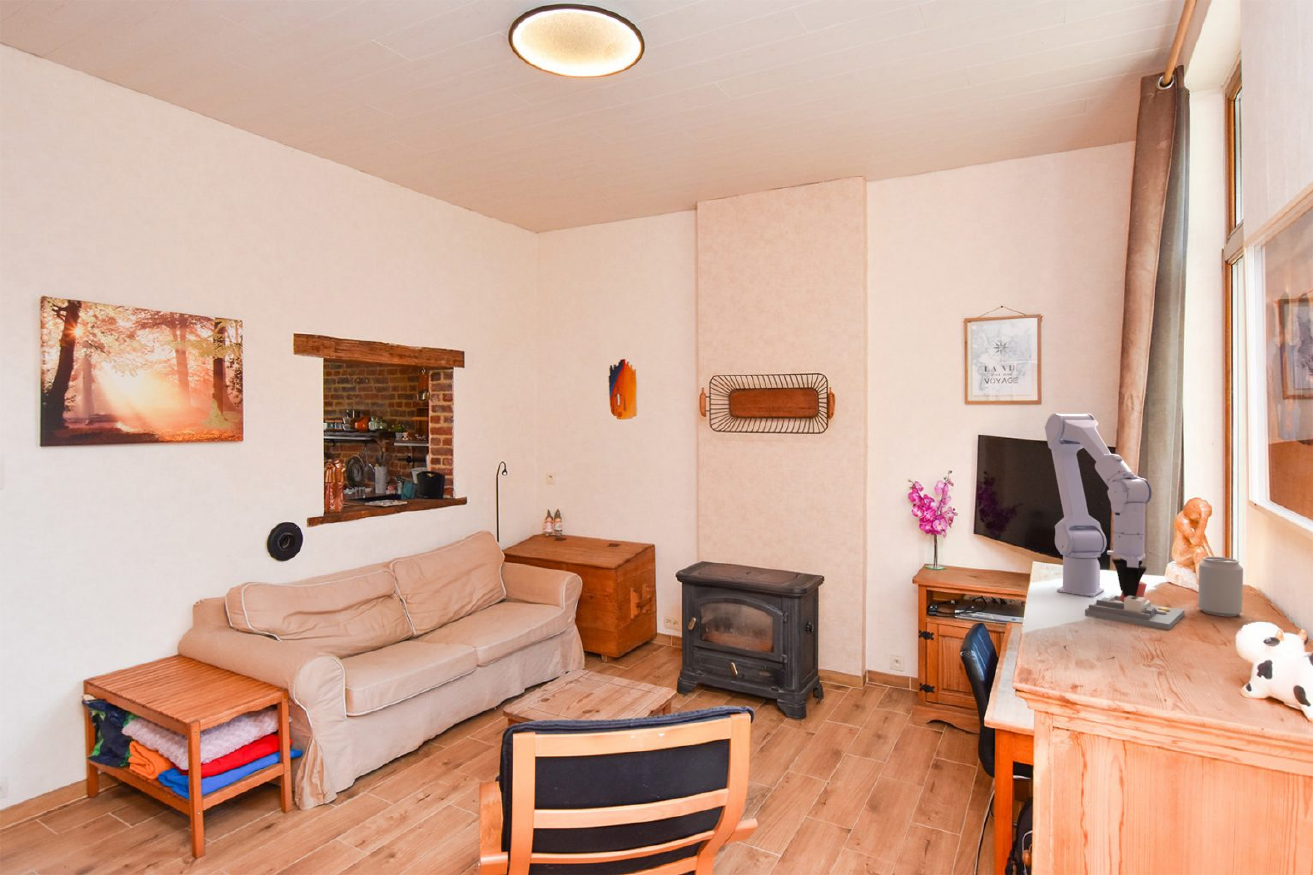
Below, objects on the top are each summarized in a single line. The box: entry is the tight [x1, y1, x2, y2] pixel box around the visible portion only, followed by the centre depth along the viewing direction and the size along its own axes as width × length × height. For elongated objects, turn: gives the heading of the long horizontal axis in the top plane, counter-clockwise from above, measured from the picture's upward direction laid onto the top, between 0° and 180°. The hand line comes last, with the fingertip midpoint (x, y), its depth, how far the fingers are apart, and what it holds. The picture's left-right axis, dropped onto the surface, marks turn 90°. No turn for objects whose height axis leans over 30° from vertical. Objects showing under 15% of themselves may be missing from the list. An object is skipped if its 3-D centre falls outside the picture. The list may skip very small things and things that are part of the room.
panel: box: [1084, 594, 1185, 631], centre depth 152 cm, size 15×15×3 cm
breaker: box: [1124, 595, 1147, 613], centre depth 149 cm, size 4×3×3 cm
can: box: [1197, 556, 1244, 618], centre depth 154 cm, size 8×8×12 cm
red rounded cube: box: [1120, 581, 1148, 603], centre depth 156 cm, size 4×4×5 cm
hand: (1128, 593), depth 156 cm, fingers open, 4 cm apart
